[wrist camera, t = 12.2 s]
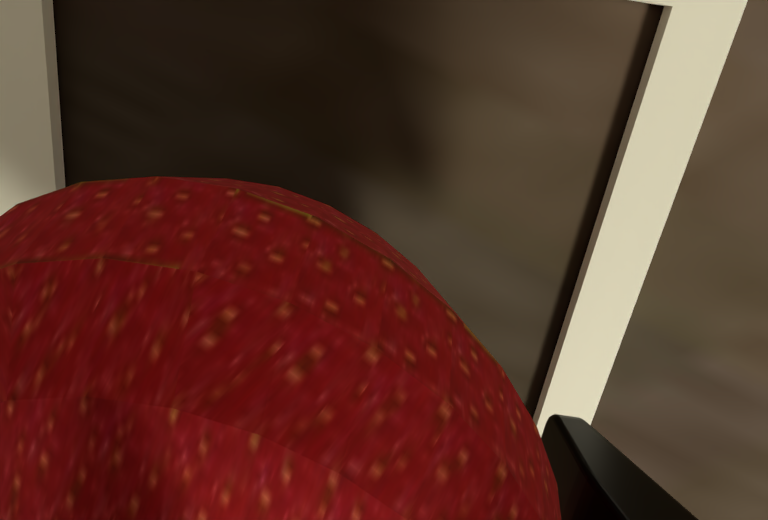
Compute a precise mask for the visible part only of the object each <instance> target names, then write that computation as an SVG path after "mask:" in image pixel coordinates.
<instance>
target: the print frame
mask: <svg viewBox="0 0 768 520" xmlns="http://www.w3.org/2000/svg"><path fill="white" fill-rule="evenodd" d="M631 1H637V2H643V3H649V4H655V5H660V6H664V9H663V12H662V15H661V18H660V21H659V24H658V27H657V31H656V34H655V37H654V40H653V43H652V46H651V49H650V53H649V56H648V59H647V62H646V65H645V68H644V71H643V74H642V78H641V81H640V84H639V87H638V90H637V93H636V96H635V100H634V103H633V106H632V109H631V112H630V115H629V118H628V122H627V125H626V128H625V131H624V134H623V137H622V140H621V144H620V147H619V150H618V153H617V156H616V159H615V162H614V165H613V169H612V172H611V175H610V178H609V181H608V184H607V187H606V191H605V194H604V197H603V200H602V203H601V206H600V209H599V213H598V216H597V219H596V222H595V225H594V228H593V231H592V234H591V238H590V241H589V244H588V247H587V250H586V253H585V256H584V260H583V263H582V266H581V269H580V272H579V275H578V278H577V282H576V285H575V288H574V291H573V294H572V297H571V300H570V304H569V307H568V310H567V313H566V316H565V319H564V322H563V325H562V329H561V332H560V335H559V338H558V341H557V344H556V347H555V351H554V354H553V357H552V360H551V363H550V366H549V369H548V373H547V376H546V379H545V382H544V385H543V388H542V391H541V394H540V398H539V401H538V404H537V407H536V410H535V413H534V416H533V421H534V423H535V424H536V426H537V428H538V431H539V434H540V437H541V436H542V433H543V430H544V427H545V424H546V422H547V420H548V419H549V417H550V416H552V415H553V414H559V415H566V416H573V417H579V418H582V419H583V420H585V421H586V422H587V423H588V424H589V425H591V422H592V419H593V417H594V414H595V411H596V409H597V406H598V403H599V400H600V398H601V395H602V392H603V390H604V387H605V384H606V382H607V379H608V376H609V373H610V371H611V368H612V365H613V363H614V360H615V357H616V355H617V352H618V349H619V346H620V344H621V341H622V338H623V336H624V333H625V330H626V328H627V325H628V322H629V319H630V317H631V314H632V311H633V309H634V306H635V303H636V301H637V298H638V295H639V292H640V290H641V287H642V284H643V282H644V279H645V276H646V274H647V271H648V268H649V265H650V263H651V260H652V257H653V255H654V252H655V249H656V247H657V244H658V241H659V238H660V236H661V233H662V230H663V228H664V225H665V222H666V220H667V217H668V214H669V211H670V209H671V206H672V203H673V201H674V198H675V195H676V192H677V190H678V187H679V184H680V182H681V179H682V176H683V174H684V171H685V168H686V165H687V163H688V160H689V157H690V155H691V152H692V149H693V147H694V144H695V141H696V138H697V136H698V133H699V130H700V128H701V125H702V122H703V120H704V117H705V114H706V111H707V109H708V106H709V103H710V101H711V98H712V95H713V93H714V90H715V87H716V84H717V82H718V79H719V76H720V74H721V71H722V68H723V66H724V63H725V60H726V57H727V55H728V52H729V49H730V47H731V44H732V41H733V39H734V36H735V33H736V30H737V28H738V25H739V22H740V20H741V17H742V14H743V11H744V9H745V6H746V3H747V1H748V0H631ZM62 188H65V173H64V158H63V144H62V129H61V114H60V100H59V85H58V71H57V56H56V42H55V27H54V12H53V0H0V216H1V215H3V214H4V213H5V212H7V211H8V210H9V209H11V208H12V207H14V206H15V205H16V204H18V203H21V202H24V201H27V200H30V199H33V198H36V197H39V196H42V195H44V194H47V193H50V192H53V191H56V190H59V189H62Z"/></svg>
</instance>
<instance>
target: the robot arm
mask: <svg viewBox="0 0 768 520" xmlns="http://www.w3.org/2000/svg"><path fill="white" fill-rule="evenodd" d="M541 440H542V443H543V445H544V448H545V451H546V454H547V457H548V459H549V462H550V465H551V468H552V471H553V473H554V476H555V479H556V482H557V487H558V495H559V504H560V513H561V520H698V519H697V518H696V517H695V516H694V515H692V514H691V513H690V512H689V511H688V510H687V509H686V508H684V507H683V506H682V505H681V504H680V503H679V502H678V501H676V500H675V499H674V498H673V497H672V496H671V495H670V494H668V493H667V492H666V491H665V490H664V489H663V488H662V487H660V486H659V485H658V484H657V483H656V482H655V481H654V480H652V479H651V478H650V477H649V476H648V475H647V474H645V473H644V472H643V471H642V470H641V469H640V468H639V467H637V466H636V465H635V464H634V463H633V462H632V461H631V460H629V459H628V458H627V457H626V456H625V455H624V454H623V453H621V452H620V451H619V450H618V449H617V448H616V447H615V446H613V445H612V444H611V443H610V442H609V441H608V440H607V439H605V438H604V437H603V436H602V435H601V434H600V433H599V432H597V431H596V430H595V429H594V428H593V427H592V426H591V425H589V424H588V423H587V422H586V421H585V420H583V419H582V418H579V417H573V416H566V415H559V414H553V415H552V416H550V417H549V419H548V420H547V422H546V424H545V427H544V430H543V433H542V436H541Z"/></svg>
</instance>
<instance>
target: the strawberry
mask: <svg viewBox="0 0 768 520" xmlns="http://www.w3.org/2000/svg"><path fill="white" fill-rule="evenodd" d="M0 520H561V513H560V504H559V495H558V487H557V482H556V479H555V476H554V473H553V471H552V468H551V465H550V462H549V459H548V457H547V454H546V451H545V448H544V445H543V443H542V440H541V437H540V434H539V431H538V428H537V426H536V424H535V423H534V421H533V419H532V417H531V416H530V414H529V412H528V411H527V409H526V407H525V406H524V404H523V402H522V401H521V399H520V397H519V395H518V394H517V392H516V390H515V389H514V387H513V385H512V384H511V382H510V380H509V379H508V377H507V375H506V373H505V372H504V370H503V368H502V367H501V366H500V365H499V363H498V362H497V361H496V360H495V359H494V358H493V356H492V355H491V354H490V353H489V352H488V350H487V349H486V348H485V347H484V346H483V345H482V343H481V342H480V341H479V340H478V339H477V337H476V336H475V335H474V334H473V333H472V332H471V330H470V329H469V328H468V327H467V326H466V324H465V323H464V322H463V321H462V320H461V319H460V317H459V316H458V315H457V314H456V313H455V312H454V310H453V309H452V308H451V307H450V306H449V304H448V303H447V302H446V301H445V300H444V299H443V297H442V296H441V295H440V294H439V293H438V292H437V290H436V289H435V288H434V287H433V286H432V285H431V283H430V282H429V281H428V280H427V279H426V278H425V276H424V275H423V274H422V273H421V272H420V270H419V269H418V268H417V267H416V266H415V265H413V264H412V263H411V262H410V261H409V260H407V259H406V258H405V257H404V256H403V255H402V254H400V253H399V252H398V251H397V250H396V249H394V248H393V247H392V246H391V245H390V244H388V243H387V242H386V241H385V240H384V239H383V238H381V237H380V236H379V235H378V234H377V233H375V232H374V231H372V230H370V229H368V228H367V227H365V226H363V225H362V224H360V223H358V222H357V221H355V220H353V219H351V218H350V217H348V216H346V215H345V214H343V213H341V212H340V211H338V210H336V209H334V208H333V207H331V206H329V205H327V204H324V203H321V202H319V201H316V200H313V199H311V198H308V197H305V196H303V195H300V194H297V193H294V192H292V191H289V190H286V189H284V188H281V187H278V186H272V185H265V184H259V183H253V182H246V181H240V180H234V179H227V178H193V177H159V176H155V177H141V178H127V179H113V180H99V181H85V182H79V183H76V184H73V185H70V186H68V187H65V188H62V189H59V190H56V191H53V192H50V193H47V194H44V195H42V196H39V197H36V198H33V199H30V200H27V201H24V202H21V203H18V204H16V205H15V206H14V207H12V208H11V209H9V210H8V211H7V212H5V213H4V214H3V215H1V216H0Z"/></svg>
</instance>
